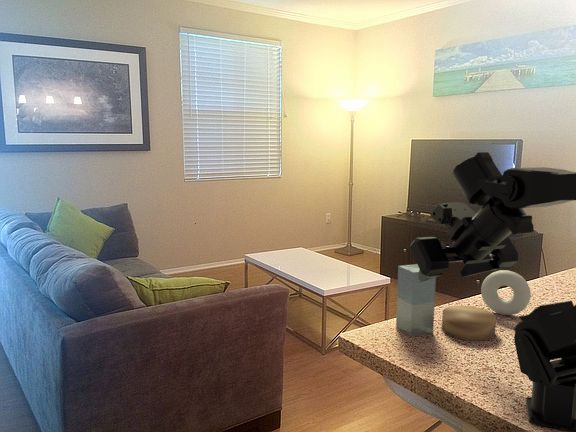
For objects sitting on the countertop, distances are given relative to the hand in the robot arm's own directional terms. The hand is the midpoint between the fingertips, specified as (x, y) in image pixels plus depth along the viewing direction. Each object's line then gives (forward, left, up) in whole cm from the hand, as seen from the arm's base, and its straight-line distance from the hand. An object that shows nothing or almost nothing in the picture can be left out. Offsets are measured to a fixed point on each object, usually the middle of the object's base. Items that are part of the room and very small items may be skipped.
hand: (441, 276), depth 86 cm
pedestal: (+10, -5, -13) cm, 17 cm away
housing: (+6, +5, -13) cm, 15 cm away
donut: (+23, -12, -13) cm, 29 cm away
